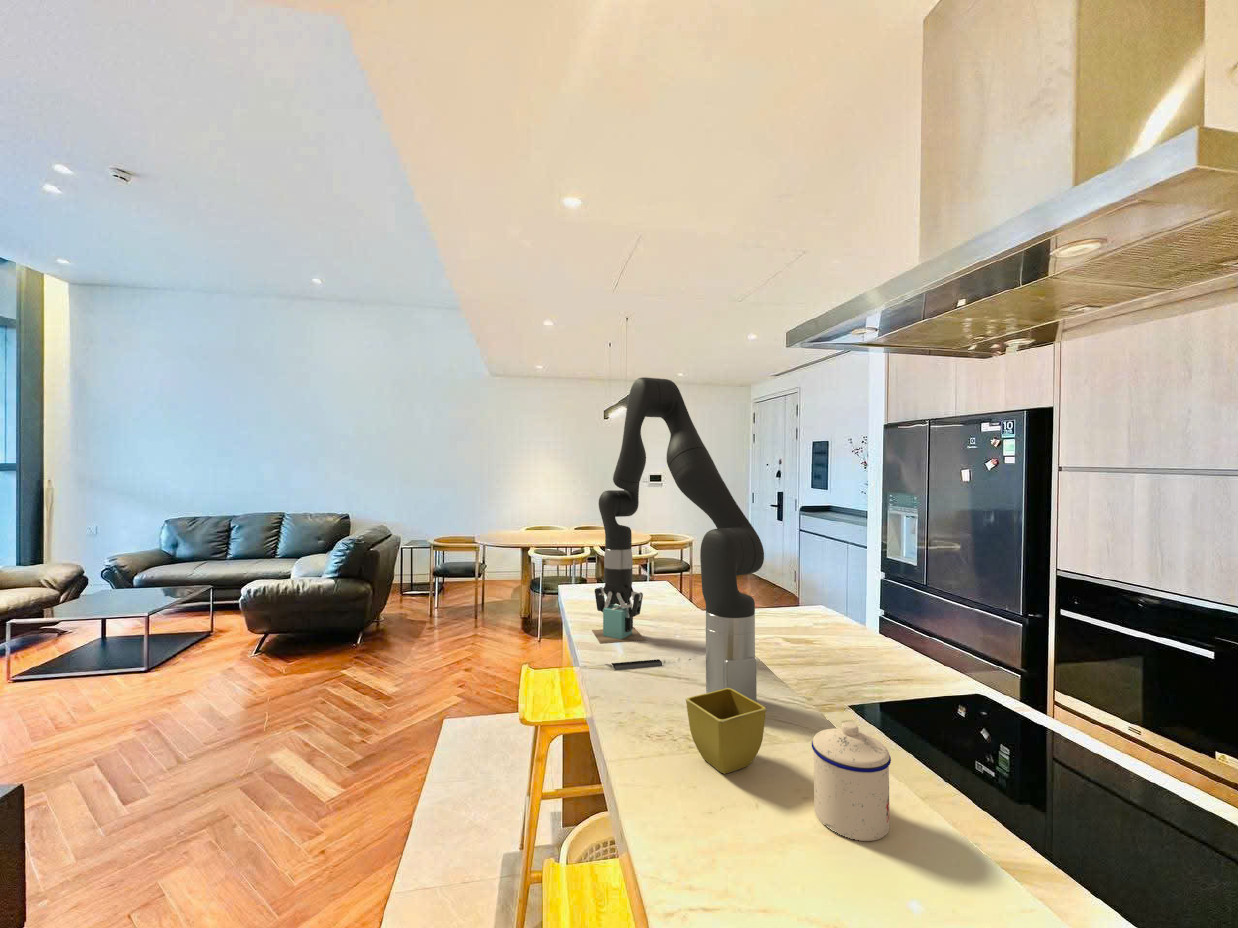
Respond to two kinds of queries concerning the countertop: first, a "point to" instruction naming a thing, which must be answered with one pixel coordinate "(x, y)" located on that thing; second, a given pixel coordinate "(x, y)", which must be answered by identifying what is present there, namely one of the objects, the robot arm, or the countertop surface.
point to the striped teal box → (614, 622)
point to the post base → (604, 639)
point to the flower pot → (726, 728)
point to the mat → (637, 664)
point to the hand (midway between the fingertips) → (618, 629)
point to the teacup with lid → (851, 782)
